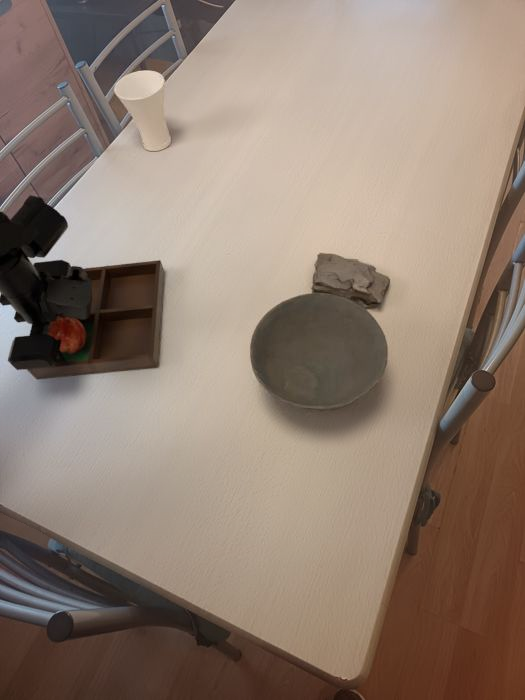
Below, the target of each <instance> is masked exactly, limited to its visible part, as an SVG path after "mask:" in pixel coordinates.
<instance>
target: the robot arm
mask: <svg viewBox="0 0 525 700" xmlns="http://www.w3.org/2000/svg"><path fill="white" fill-rule="evenodd" d="M68 228H69V223H68V221H67V219H66V217H65V216H64V215H62V214H61V213H60V211H58V210H57V209H55V208H54V207H52V206H51V205H49V204H47V203H46V202H45V200H44V198H43V197H40V196H36V195H29V196H28V197H27V198H26V199H25V200H24V202H23V203H22V205H21V207H20V208H19V209H18V210H17V211H16V213H15V214H14V215H13V216H12V217H11V218H10V217H9V216H8V215H7V214H6V213H5V212H4V211H0V305H1V306H11V307H12V308H13V310H14V311H15V313H14V316H13V319H14V320H15V321H16V323H27V324H29V325H31V326H30V330H29V335H22V336H20V335H19V336H15V337H14V339H13V340H12V341H11V346H10V349H9V354H8V357H7V362H8V363H9V364H10V365H11V366H12V367H13V368H15V370H17V371H22V370H27V369H33V368H43V367H52V366H53V365H54V364H55V363H56V362H57V363H65V361H66V360H65V358H64V356H63V354H62V353H61V351H60V345H61V339H60V340H56V339H55V337H53V336H50V335H48V334H49V330H50V325H51V322H52V321H57V316H61V317H70V318H78V319H87V318H88V317H89V316H90V310H91V304H92V284H93V281H92V280H90V278H88V275H87V273H86V272H85V271H84V267H82V266H76V265H71V263H70V262H68V261H66V260H64V259H55V260H47V261H40V262H39V261H38V262H34V263H32V261H31V260H30V259H34V258H44V259H45V258H46V257H47V256H48V254H49V253H50V252H51V251H52V249H53V248H54V247H55V245H56V244H57V243H58V242H59V240H60V239H61V237H62V236H63V235H64V234H65V232H67V230H68Z"/></svg>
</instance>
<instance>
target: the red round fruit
mask: <svg viewBox="0 0 525 700" xmlns="http://www.w3.org/2000/svg"><path fill="white" fill-rule="evenodd" d="M48 335H50V336H53V337H55V339H56V340H60V339H61V345H60V351H61V352H67V353H70V354H72V353H75V352H77V351H81V350H82V349H83V347H84V344H85V342H86V332H85V329H84V327H83V325H82V324H81V323H80V321H79V320H77V319H75V318H70V317H61V316H57V321H52V322H51V325H50V330H49V334H48ZM56 363H57V362H56Z"/></svg>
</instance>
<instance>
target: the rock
mask: <svg viewBox="0 0 525 700" xmlns="http://www.w3.org/2000/svg"><path fill="white" fill-rule="evenodd" d="M316 256H317V259H316V261H315V263H314V265H313V266H314V268H315V271H314V272H313V275H312V286H311V293H326V294H333V295H337V296H341V297H345V298H348V299H350V300H352V301H354V302H356V303H357V304H359V305H360V306H362V307H363V308H369V309H370V308H377V307H378V306H379V305H381V303H382V302H383V300H384V296H385V294H386V293H387V291H388V289H389V287H390V284H391V278H390V276H389V275H386V274H383V273H381V272H378V271H376V270H377V268H376V266H374V265H373V264H369V263H366V262H363V261H360V260H359V259H357V258H347V257H346V258H345V257H343V256H341V255H338V254H335V253H326V252H319V253H318V254H317V255H316Z"/></svg>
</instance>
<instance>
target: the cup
mask: <svg viewBox="0 0 525 700" xmlns="http://www.w3.org/2000/svg"><path fill="white" fill-rule="evenodd" d="M165 82H166V81H165V77H164V76H163V75H162V73H159V72H158V71H155V70H148V69H147V70H137V71H134V72H131V73H128V74H126V75H124V76H122V77H121V78H120V79H119V80H118V81H117V82H116V83H115V85H114V87H113V90H114V94H115V95H116V97H117V98H118V100H119V101H120V102H121V104H122V105H123V106H124V108H125V109H126V111H127V112H128V113H129V114H130V116H131V118H132V120H133V122H134V123H135V126H136V127H137V130H138V132H139V134H140V137H141V141H142V145H143V148H144V149H145V150H147V151H150V152H160V151H162V150H165V149H166V148H167V147H169V146H170V145H171V143H172V137H171V134H170V132H169V129H168V127H167V126H168V125H167V122H166V115H165V114H166V113H165V86H166V85H165ZM169 134H170V135H169ZM169 137H170V139H169ZM168 140H169V141H168ZM167 141H168V142H167ZM166 142H167V143H166ZM143 143H144V144H143ZM164 143H166V144H164ZM163 144H164V145H163ZM145 145H146V146H145ZM161 145H162V146H161ZM147 146H148V147H147ZM157 146H160V147H157ZM151 147H155V148H151Z"/></svg>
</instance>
